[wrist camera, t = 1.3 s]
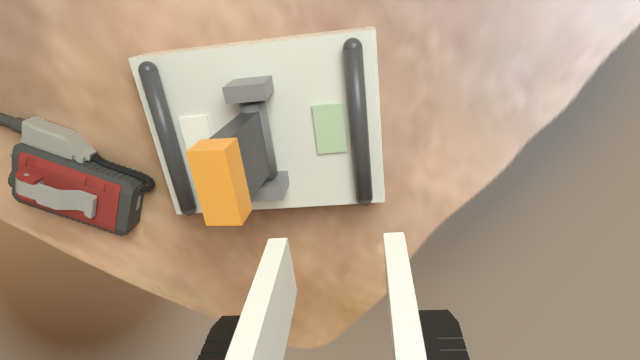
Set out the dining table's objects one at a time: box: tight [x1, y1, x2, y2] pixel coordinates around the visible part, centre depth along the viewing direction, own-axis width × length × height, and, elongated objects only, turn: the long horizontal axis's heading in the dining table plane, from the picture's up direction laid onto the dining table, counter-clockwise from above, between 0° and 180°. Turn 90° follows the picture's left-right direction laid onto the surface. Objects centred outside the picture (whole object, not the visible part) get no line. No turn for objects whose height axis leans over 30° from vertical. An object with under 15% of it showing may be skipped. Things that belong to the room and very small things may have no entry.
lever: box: [185, 101, 278, 226], centre depth 28 cm, size 6×2×10 cm, turn 7°
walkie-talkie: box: [0, 113, 155, 236], centre depth 37 cm, size 9×4×20 cm
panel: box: [128, 26, 385, 216], centre depth 32 cm, size 14×19×6 cm
